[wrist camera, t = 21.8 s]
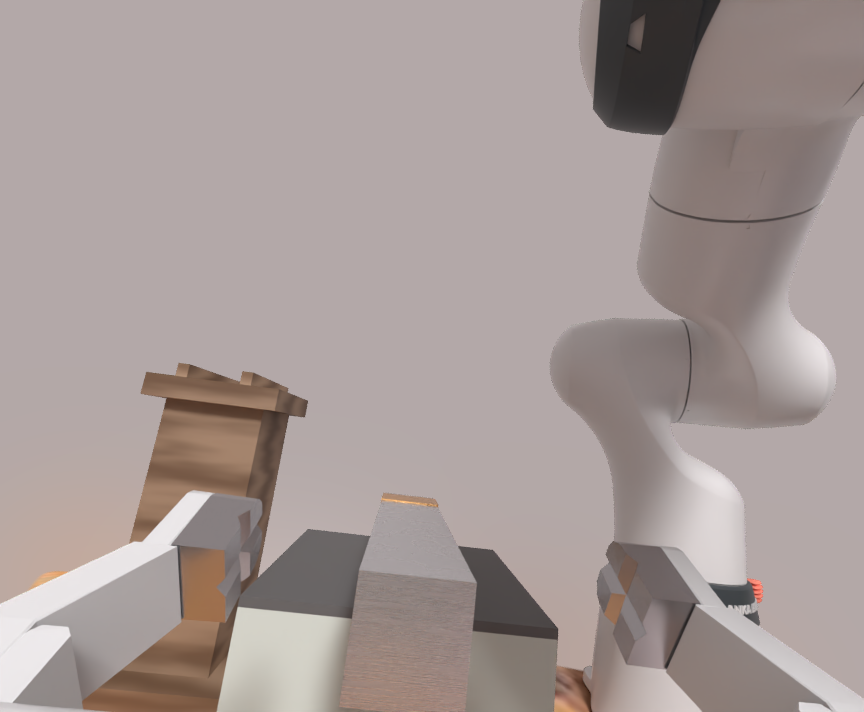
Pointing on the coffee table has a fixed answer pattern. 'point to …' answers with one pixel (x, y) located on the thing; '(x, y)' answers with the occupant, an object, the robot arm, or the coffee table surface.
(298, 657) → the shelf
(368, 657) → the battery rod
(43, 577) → the coffee table surface
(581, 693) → the coffee table surface
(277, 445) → the stand
